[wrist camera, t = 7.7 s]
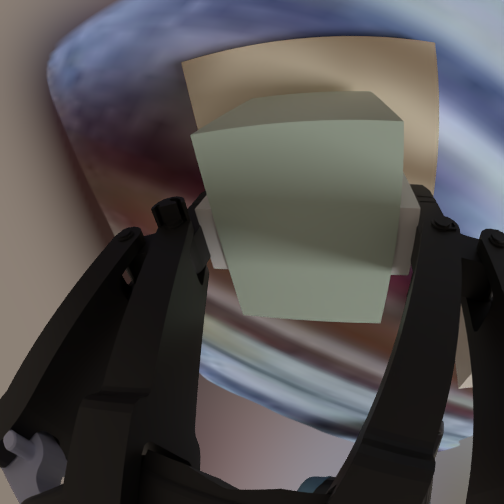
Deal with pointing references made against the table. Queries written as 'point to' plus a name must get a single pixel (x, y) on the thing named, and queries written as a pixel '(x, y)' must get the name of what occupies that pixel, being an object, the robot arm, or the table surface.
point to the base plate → (330, 83)
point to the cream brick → (463, 356)
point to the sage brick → (306, 202)
